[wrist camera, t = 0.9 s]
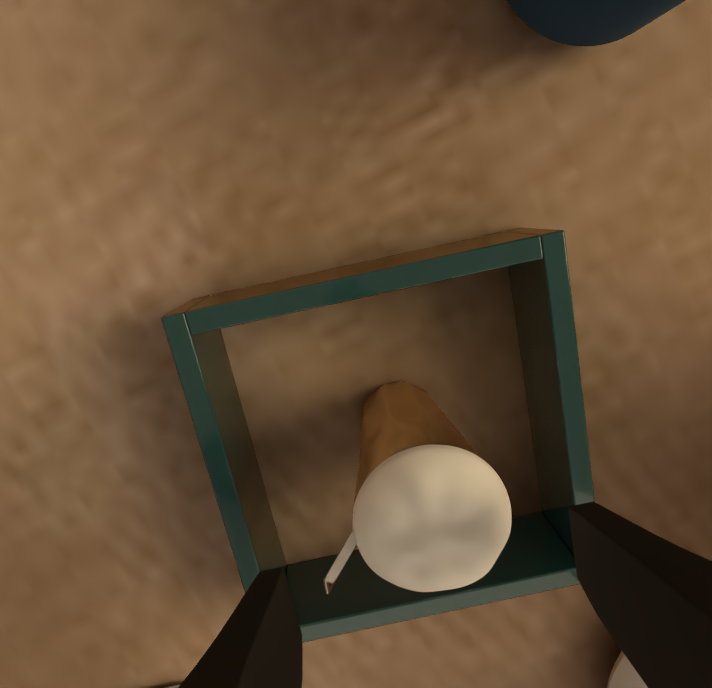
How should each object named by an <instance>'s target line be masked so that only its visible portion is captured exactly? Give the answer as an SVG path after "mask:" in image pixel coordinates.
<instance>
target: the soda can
mask: <svg viewBox="0 0 712 688" xmlns="http://www.w3.org/2000/svg"><path fill="white" fill-rule="evenodd" d="M684 1H685V0H508V2H509V4H510V5H511V7H512V8H513V10H514V11H515V12H516V13H517V15H518V16H519V17H520V18H521V19H522V20H523V21H524V22H525V23H526V24H527V25H528V26H529V27H531V28H532V29H533V30H535V31H536V32H538V33H539V34H541V35H543V36H545V37H547V38H549V39H551V40H553V41H556V42H559V43H563V44H567V45H573V46H596V45H602V44H606V43H610V42H613V41H616V40H619V39H621V38H624V37H626V36H628V35H630V34H632V33H634V32H635V31H637V30H638V29H640V28H642V27H643V26H645V25H646V24H648V23H650V22H651V21H653V20H655V19H656V18H658V17H659V16H661V15H663V14H664V13H666V12H667V11H669V10H671V9H672V8H674V7H676V6H677V5H679V4H680V3H682V2H684Z"/></svg>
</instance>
